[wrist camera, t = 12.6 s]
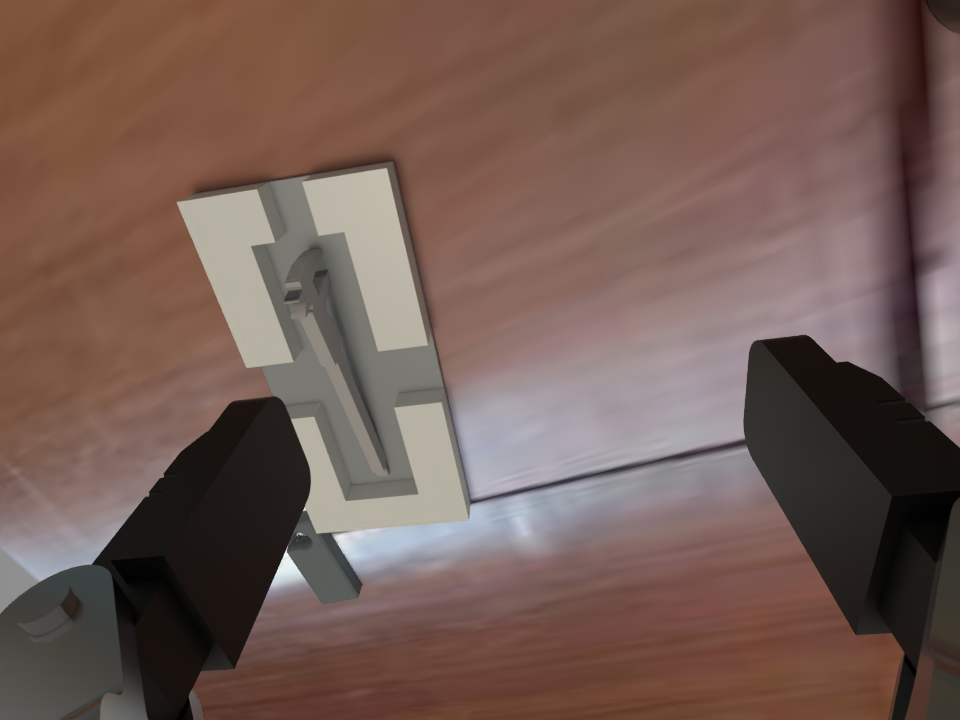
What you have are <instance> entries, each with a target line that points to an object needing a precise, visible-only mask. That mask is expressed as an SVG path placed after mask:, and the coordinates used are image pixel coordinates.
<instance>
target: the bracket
mask: <svg viewBox="0 0 960 720" xmlns="http://www.w3.org/2000/svg"><path fill="white" fill-rule="evenodd" d="M297 532H300V533H302V534H304V535H307V536H299V537H297V536H296V535H297ZM287 553H288V554H289V556H290V557H291V559H292V560H293V562H294V563H295V565H296V566H297V568H298V569H299V571H300V572H301V573H302V575H303V576H304V578H305V579H306V581H307V582H308V584H309V585H310V587H311V588H312V590H313V591H314V593H315V594H316V595H317V597H318V598H319V600H320V601H321V603H322V604H328V603H334V602H339V601H344V600H350V599H355V598H358V597H359V594H360V590H361V586H362V583H361V582H360V580H359V579H358V577H357V575H356V574H355V572H354V570H353V569H352V567H351V566H350V564H349V562H348V561H347V559H346V557H345V556H344V554H343V553H342V551H341V549H340V548H339V546H338V545H337V543H336V541H335V540H334V538H333V536H332V535H331V533H330V532H329V533H318V534H316V531H315V529H314V527H313V524H312V522H311V520H310V517H309V515H308V513H307V511H303V512H302V514H301V516H300V519H299V521H298V523H297V525H296V528H295V530H294V532H293V535H292V537H291V539H290V542H289V545H288V548H287Z"/></svg>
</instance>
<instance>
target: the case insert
mask: <svg viewBox="0 0 960 720" xmlns="http://www.w3.org/2000/svg"><path fill="white" fill-rule="evenodd" d="M177 204H178V207H179V209H180V211H181V214H182V216H183V219H184V221H185V223H186V226H187V228H188V230H189V233H190V235H191V238H192V240H193V242H194V245H195V247H196V249H197V252H198V254H199V256H200V259H201V261H202V264H203V266H204V268H205V271H206V273H207V275H208V278H209V280H210V283H211V285H212V287H213V290H214V292H215V294H216V297H217V299H218V302H219V304H220V306H221V309H222V311H223V313H224V316H225V318H226V321H227V323H228V325H229V328H230V330H231V332H232V335H233V337H234V339H235V342H236V344H237V347H238V349H239V351H240V354H241V356H242V358H243V361H244V363H245V366H246V368H250V367H258V366H261V367H262V369H263V372H264V374H265V376H266V379H267V381H268V384H269V386H270V389H271V391H272V394H273V396H276V397H278V398H280V399H281V400H282V401H283V403H284V404H285V406H286V408H287V411H288V413H289V416H290V418H291V421H292V423H293V426H294V428H295V431H296V433H297V436H298V438H299V441H300V443H301V446H302V449H303V451H304V454H305V456H306V459H307V461H308V464H309V468H310V473H311V488H310V494H309V497H308V500H307V502H306V505H305V508H306V510H307V513H308V515H309V517H310V520H311V522H312V524H313V527H314V529H315V531H316V534H318V533H329V532H341V531H352V530H364V529H375V528H386V527H398V526H409V525H421V524H432V523H444V522H455V521H466V520H469V515H470V502H471V499H470V495H469V490H468V486H467V482H466V477H465V473H464V468H463V464H462V459H461V455H460V451H459V446H458V442H457V437H456V433H455V429H454V424H453V420H452V415H451V411H450V406H449V402H448V398H447V393H446V389H445V384H444V380H443V375H442V371H441V367H440V362H439V358H438V353H437V349H436V345H435V340H434V336H433V331H432V327H431V322H430V318H429V314H428V309H427V305H426V300H425V296H424V292H423V287H422V283H421V278H420V274H419V269H418V265H417V261H416V256H415V252H414V247H413V243H412V239H411V234H410V230H409V225H408V221H407V216H406V212H405V208H404V203H403V199H402V194H401V190H400V185H399V181H398V177H397V172H396V168H395V163H394V161H387V162H381V163H375V164H369V165H363V166H357V167H351V168H345V169H339V170H333V171H327V172H321V173H315V174H308V175H302V176H296V177H290V178H284V179H278V180H272V181H266V182H260V183H254V184H248V185H242V186H236V187H229V188H223V189H217V190H211V191H205V192H199V193H195V194H192V195H190V196H188V197H186V198H184V199H182V200H180V201H178V202H177ZM313 249H319V250H320V251H321V252H322V255H321V258H320V260H319V263H318V266H317V269H316V271H324V270H329V277H330V280H329V288H328V296H327V305H326V309H327V311H328V314H329V316H331V318H332V319H333V321H334V322H335V324H336V327H337V331H338V333H339V335H340V336H341V338H342V346H341V350H342V353H343V355H344V358H345V360H346V362H347V365H348V367H349V370H350V372H351V375H352V377H353V379H354V382H355V384H356V387H357V389H358V391H359V394H360V396H361V399H362V401H363V404H364V406H365V408H366V411H367V413H368V415H369V418H370V420H371V423H372V425H373V427H374V430H375V432H376V434H377V437H378V439H379V442H380V444H381V446H382V449H383V451H384V453H385V456H386V465H387V467H388V469H389V472H390V475H388V476H377V474H376V473H373V472H372V470H371V468H370V465H369V463H368V461H367V459H366V457H365V454H364V452H363V450H362V448H361V446H360V443H359V441H358V439H357V437H356V435H355V432H354V430H353V428H352V426H351V423H350V421H349V419H348V417H347V415H346V412H345V410H344V408H343V406H342V403H341V401H340V399H339V397H338V395H337V392H336V390H335V388H334V386H333V383H332V381H331V379H330V377H329V375H328V372H327V370H326V368H325V366H324V367H322V366H321V364H320V362H319V360H318V357H317V355H316V353H315V351H314V349H313V347H312V345H311V342H310V340H309V338H308V336H307V334H306V332H305V330H304V327H303V325H302V323H301V321H300V319H291V304H292V303H290V304H284V303H283V302H284V300H285V297H286V295H287V292H288V291H287V289H286V286H285V284H284V283H285V281H286V278H287V275H288V273H289V270H290V268H291V265H292V264H293V263H294V261H295V260H296V259H297V258H298V257H299V256H300V255H301V254H302V253H303V252H304V251H306V250H313Z"/></svg>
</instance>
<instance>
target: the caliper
mask: <svg viewBox="0 0 960 720" xmlns="http://www.w3.org/2000/svg"><path fill="white" fill-rule="evenodd" d="M321 255H322V252H321V251H320V250H319V249H313V250H306V251H304V252H303V253H302V254H301V255H300V256H299V257H298V258H297V259H296V260H295V261H294V263H293V264H292V265H291V268H290V270H289V273H288V275H287V278H286V281H285V283H284V284H285V286H286V289H287V291H288V292H287V295H286V297H285V300H284V302H283V303H284V304H290V303H292V304H291V319H300V321H301V323H302V325H303V327H304V330H305V332H306V334H307V336H308V338H309V340H310V342H311V345H312V347H313V349H314V351H315V353H316V355H317V357H318V360H319V362H320V364H321V366H322V367H324V366H325V368H326V370H327V372H328V375H329V377H330V379H331V381H332V383H333V386H334V388H335V390H336V392H337V395H338V397H339V399H340V401H341V403H342V406H343V408H344V410H345V412H346V415H347V417H348V419H349V421H350V423H351V426H352V428H353V430H354V432H355V435H356V437H357V439H358V441H359V443H360V446H361V448H362V450H363V452H364V454H365V457H366V459H367V461H368V463H369V465H370V468H371V470H372V472H373V473H376V474H377V476H388V475H390V472H389V469H388V467H387V465H386V456H385V453H384V451H383V449H382V446H381V444H380V442H379V439H378V437H377V434H376V432H375V430H374V427H373V425H372V423H371V420H370V418H369V415H368V413H367V411H366V408H365V406H364V404H363V401H362V399H361V396H360V394H359V391H358V389H357V387H356V384H355V382H354V379H353V377H352V375H351V372H350V370H349V367H348V365H347V362H346V360H345V358H344V355H343V353H342V350H341V346H342V338H341V336H340V335H339V333H338V331H337V327H336V324H335V322H334V321H333V319H332V318H331V316H329V314H328V311H327V309H326V305H327V296H328V288H329V280H330V277H329V270H324V271H316V269H317V266H318V263H319V260H320V258H321Z"/></svg>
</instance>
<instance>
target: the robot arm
mask: <svg viewBox="0 0 960 720" xmlns="http://www.w3.org/2000/svg"><path fill="white" fill-rule="evenodd" d="M927 1H928V4H929V6H930V9H931V11H932V12H933V13H934V15H935V16H936V17H937V19H938V20H939V21H940V22H941V23H942V24H943V25H945V26H946V27H948V28H949V29H951V30H952V31H954V32H957V33H960V0H927ZM744 434H745V439H746V443H747V447H748V450H749V453H750V455H751V457H752V459H753V461H754V462H755V464H756V466H757V467H758V469H759V471H760V473H761V474H762V476H763V478H764V479H765V481H766V483H767V484H768V486H769V488H770V490H771V491H772V493H773V495H774V496H775V498H776V500H777V502H778V503H779V505H780V507H781V508H782V510H783V512H784V513H785V515H786V517H787V519H788V520H789V522H790V524H791V525H792V527H793V529H794V530H795V532H796V534H797V536H798V537H799V539H800V541H801V542H802V544H803V546H804V548H805V549H806V551H807V553H808V554H809V556H810V558H811V559H812V561H813V563H814V565H815V566H816V568H817V570H818V571H819V573H820V575H821V576H822V578H823V580H824V582H825V583H826V585H827V587H828V588H829V590H830V592H831V594H832V595H833V597H834V599H835V600H836V602H837V604H838V605H839V607H840V609H841V611H842V612H843V614H844V616H845V617H846V619H847V621H848V622H849V624H850V626H851V628H852V629H853V631H854V633H855V634H856V635H865V634H882V633H892V634H893V635H894V637H895V639H896V640H897V642H898V643H899V645H900V646H901V648H902V649H903V651H904V653H903V656H902V659H901V662H900V665H899V668H898V673H897V678H896V683H895V688H894V693H893V697H892V702H891V707H890V712H889V717H888V720H960V448H959V447H958V446H957V445H956V444H955V443H954V442H952V441H951V440H950V439H949V438H948V437H947V436H946V435H945V434H944V433H942V432H941V431H940V430H939V429H938V428H937V427H936V426H935V425H934V424H932V423H931V422H930V421H928V422H926V421H925V416H924V415H923V414H921V413H920V412H919V411H918V410H917V409H916V408H915V407H914V406H913V405H911V404H910V403H905V398H904V397H903V396H901V395H900V394H899V393H898V392H897V391H896V390H895V389H894V388H893V387H891V386H890V385H889V384H888V383H887V382H886V381H885V380H884V379H883V378H881V377H879V376H877V375H875V374H873V373H871V372H869V371H867V370H864V369H862V368H860V367H858V366H856V365H854V364H852V363H850V362H848V361H847V362H838V363H836V362H835V361H834V360H833V359H832V358H831V357H830V356H829V355H828V354H827V353H826V352H825V351H824V350H823V349H822V348H821V347H820V346H819V345H818V344H817V343H816V342H815V341H814V340H813V339H812V338H810V337H809V336H807V335H799V336H791V337H782V338H774V339H765V340H757V341H755V342H753V344H752V345H751V348H750V352H749V360H748V372H747V384H746V397H745V409H744ZM310 488H311V473H310V468H309V464H308V461H307V459H306V456H305V454H304V451H303V449H302V446H301V443H300V441H299V438H298V436H297V433H296V431H295V428H294V426H293V423H292V421H291V418H290V416H289V413H288V411H287V408H286V406H285V404H284V403H283V401H282V400H281V399H280V398H278V397H276V396H272V397H263V398H255V399H246V400H238V401H233V402H232V403H230V404H229V405H228V406H227V408H226V409H225V410H224V412H223V413H222V414H221V416H220V417H219V418H218V420H217V421H216V422H215V424H214V425H213V426H212V427H211V429H210V430H209V431H208V432H206V433H204V434H203V435H202V436H201V437H199V438H198V439H197V440H195V441H194V442H193V443H192V444H190V445H189V446H188V447H186V448H185V449H184V450H183V451H181V452H180V454H179V455H178V456H177V457H176V459H175V460H174V461H173V462H172V464H171V465H170V466H169V467H168V469H167V470H166V471H165V473H164V478H160V479H159V480H158V481H157V483H156V484H155V485H154V486H153V488H152V489H151V490H150V491H149V497H145V498H144V499H143V500H142V502H141V503H140V504H139V505H138V507H137V508H136V509H135V510H134V512H133V513H132V514H131V515H130V517H129V518H128V519H127V521H126V522H125V523H124V524H123V526H122V527H121V528H120V529H119V531H118V532H117V533H116V534H115V536H114V537H113V538H112V539H111V541H110V542H109V543H108V545H107V546H106V547H105V548H104V550H103V551H102V552H101V553H100V555H99V556H98V557H97V558H96V560H95V561H94V562H93V563H92V565H83V566H77V567H73V568H70V569H67V570H64V571H61V572H59V573H57V574H54V575H52V576H50V577H48V578H46V579H45V580H43V581H41V582H39V583H38V584H36V585H35V586H33V587H31V588H30V589H28V590H27V591H26V592H25V593H23V594H22V595H20V596H19V597H18V598H17V599H15V600H14V601H13V602H12V603H11V604H9V605H8V607H6V608H5V609H4V610H3V612H2V613H1V614H0V720H204V718H203V714H202V710H201V705H200V702H199V699H198V697H197V695H196V694H195V692H194V691H193V690H192V688H193V686H194V684H195V682H196V680H197V678H198V676H199V674H200V672H201V671H209V670H226V669H235V666H236V664H237V662H238V659H239V657H240V655H241V652H242V650H243V648H244V645H245V643H246V641H247V639H248V636H249V634H250V632H251V629H252V627H253V625H254V622H255V620H256V618H257V615H258V613H259V611H260V609H261V606H262V604H263V602H264V599H265V597H266V595H267V592H268V590H269V588H270V585H271V583H272V581H273V579H274V576H275V574H276V572H277V569H278V567H279V565H280V562H281V560H282V558H283V555H284V553H285V551H286V549H287V546H288V544H289V542H290V539H291V537H292V535H293V532H294V530H295V528H296V525H297V523H298V521H299V519H300V516H301V514H302V512H303V509H304V507H305V505H306V502H307V500H308V497H309V494H310Z"/></svg>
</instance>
